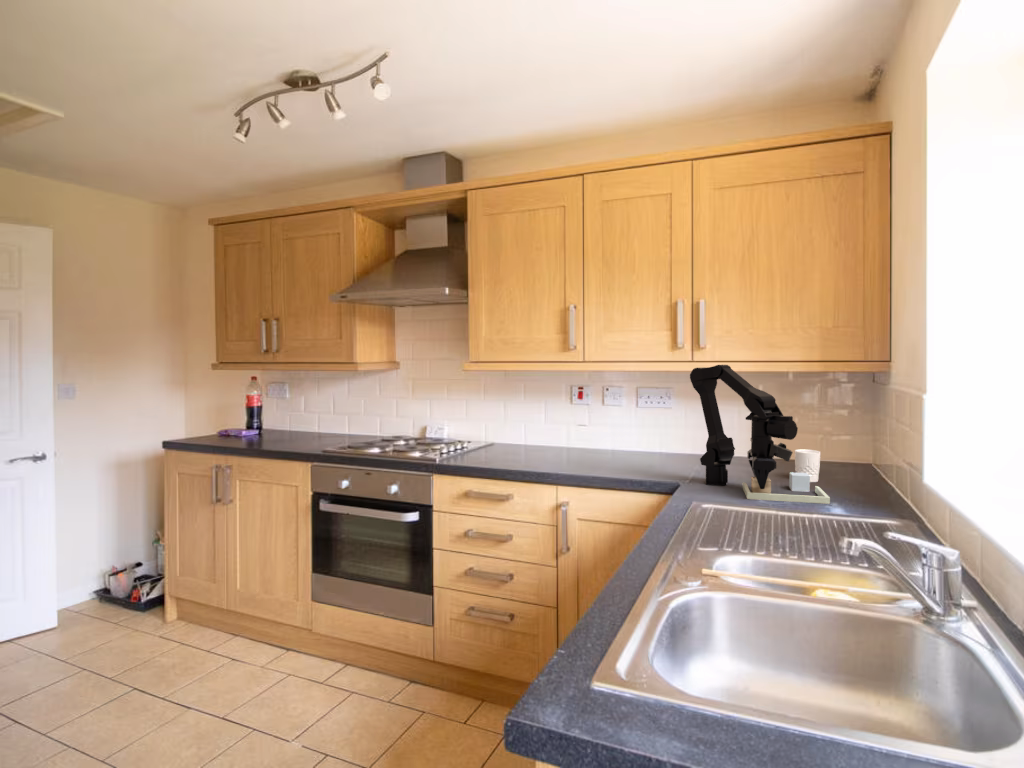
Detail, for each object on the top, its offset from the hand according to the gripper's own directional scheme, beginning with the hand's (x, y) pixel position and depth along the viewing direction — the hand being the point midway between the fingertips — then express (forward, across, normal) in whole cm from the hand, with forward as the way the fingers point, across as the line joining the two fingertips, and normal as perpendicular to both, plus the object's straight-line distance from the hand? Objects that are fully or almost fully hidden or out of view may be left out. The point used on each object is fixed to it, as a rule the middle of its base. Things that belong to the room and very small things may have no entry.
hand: (760, 486), depth 177 cm
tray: (+2, 0, -6) cm, 7 cm away
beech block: (+3, 0, 0) cm, 3 cm away
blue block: (+3, +10, -12) cm, 17 cm away
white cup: (+3, +26, -18) cm, 31 cm away
